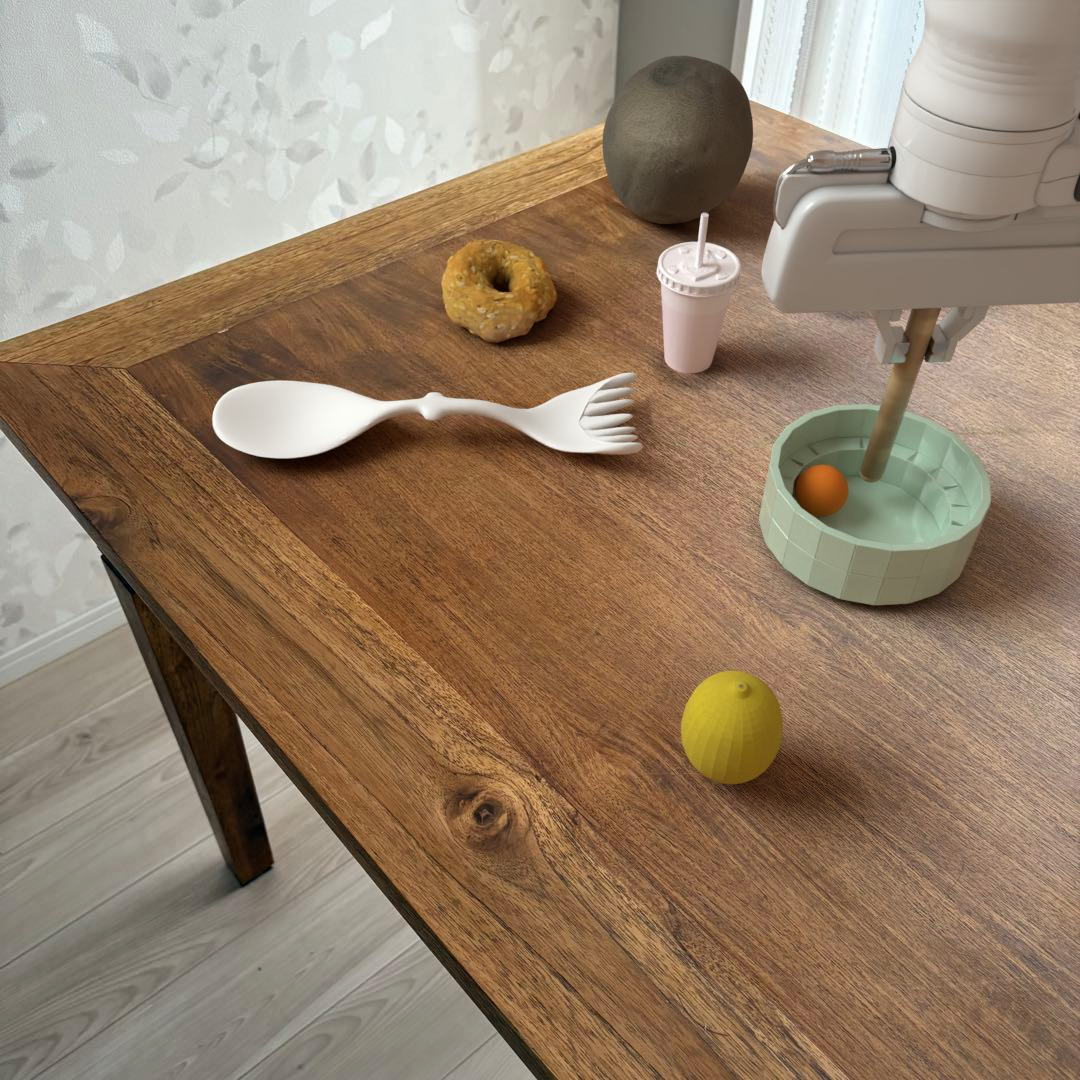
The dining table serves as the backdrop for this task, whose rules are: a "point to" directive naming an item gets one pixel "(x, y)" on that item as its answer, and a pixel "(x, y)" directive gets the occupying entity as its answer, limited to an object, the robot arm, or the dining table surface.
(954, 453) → the bowl
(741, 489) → the dining table surface
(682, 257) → the smoothie
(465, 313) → the bagel
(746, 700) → the lemon
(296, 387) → the spoon
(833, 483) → the ball
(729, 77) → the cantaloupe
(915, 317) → the stick
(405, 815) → the dining table surface
